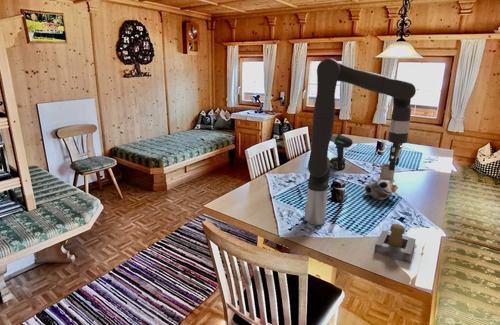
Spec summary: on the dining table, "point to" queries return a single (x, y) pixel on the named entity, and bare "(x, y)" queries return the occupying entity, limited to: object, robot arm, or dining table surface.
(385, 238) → the square holder
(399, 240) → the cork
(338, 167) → the power drill
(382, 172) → the mug
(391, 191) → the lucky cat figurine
